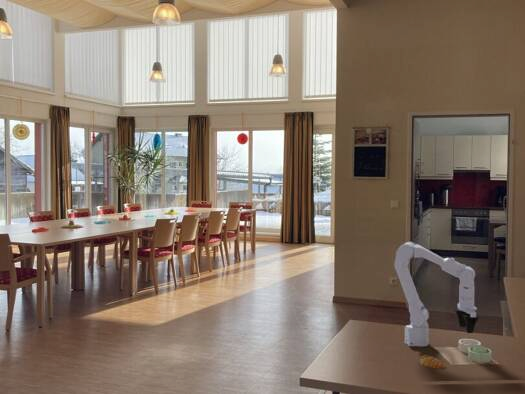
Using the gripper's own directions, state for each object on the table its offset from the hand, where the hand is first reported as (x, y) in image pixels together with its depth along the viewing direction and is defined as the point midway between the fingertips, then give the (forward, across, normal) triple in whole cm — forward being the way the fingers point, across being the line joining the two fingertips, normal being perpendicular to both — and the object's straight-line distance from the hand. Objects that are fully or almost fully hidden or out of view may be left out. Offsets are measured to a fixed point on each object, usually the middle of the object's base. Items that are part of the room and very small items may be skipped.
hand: (466, 329), depth 214 cm
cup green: (+8, -10, -1) cm, 13 cm away
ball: (+8, -10, -1) cm, 13 cm away
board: (+9, -6, +3) cm, 11 cm away
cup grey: (+8, -1, -1) cm, 8 cm away
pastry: (+10, -15, +19) cm, 26 cm away
